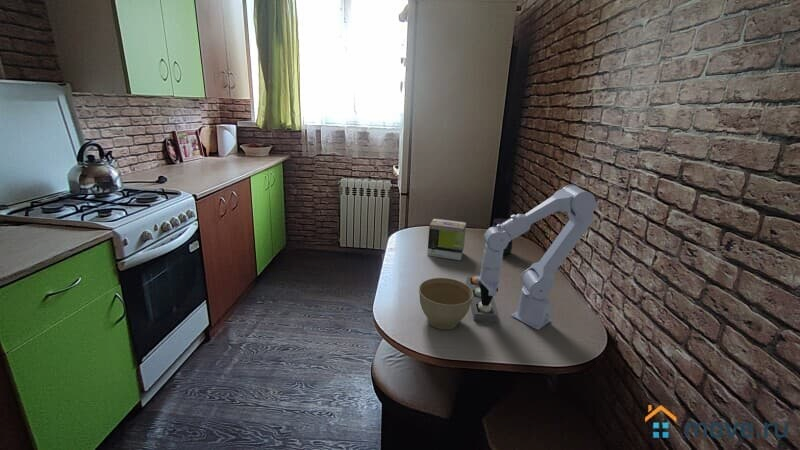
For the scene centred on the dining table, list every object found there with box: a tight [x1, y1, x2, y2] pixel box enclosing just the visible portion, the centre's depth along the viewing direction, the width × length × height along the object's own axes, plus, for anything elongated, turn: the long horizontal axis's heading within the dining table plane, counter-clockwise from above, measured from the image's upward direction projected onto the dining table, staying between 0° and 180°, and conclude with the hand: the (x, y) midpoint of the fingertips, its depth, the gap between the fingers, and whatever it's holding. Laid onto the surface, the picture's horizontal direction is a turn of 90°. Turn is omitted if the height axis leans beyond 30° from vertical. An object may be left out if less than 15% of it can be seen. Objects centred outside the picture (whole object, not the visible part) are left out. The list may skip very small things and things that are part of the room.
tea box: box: [426, 218, 467, 261], centre depth 158 cm, size 15×10×15 cm, turn 74°
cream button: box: [478, 302, 492, 313], centre depth 115 cm, size 4×4×2 cm
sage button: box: [475, 288, 481, 298], centre depth 124 cm, size 4×4×2 cm
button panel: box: [465, 276, 499, 323], centre depth 124 cm, size 25×7×2 cm, turn 176°
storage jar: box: [492, 218, 513, 258], centre depth 164 cm, size 10×10×15 cm
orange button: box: [471, 275, 479, 285], centre depth 132 cm, size 4×4×2 cm
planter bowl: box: [418, 277, 473, 330], centre depth 110 cm, size 16×16×11 cm
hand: (485, 304), depth 115 cm, fingers closed
